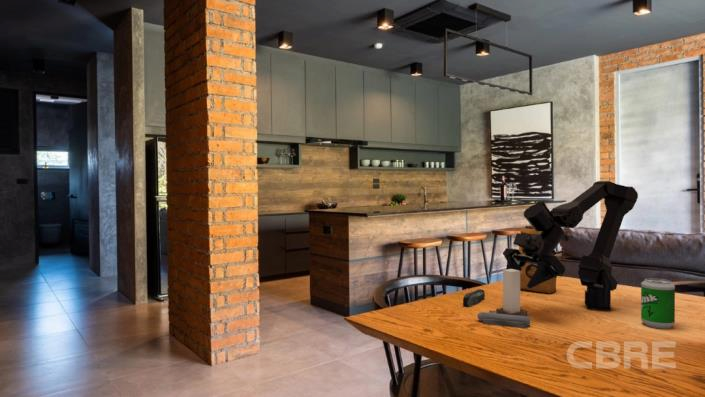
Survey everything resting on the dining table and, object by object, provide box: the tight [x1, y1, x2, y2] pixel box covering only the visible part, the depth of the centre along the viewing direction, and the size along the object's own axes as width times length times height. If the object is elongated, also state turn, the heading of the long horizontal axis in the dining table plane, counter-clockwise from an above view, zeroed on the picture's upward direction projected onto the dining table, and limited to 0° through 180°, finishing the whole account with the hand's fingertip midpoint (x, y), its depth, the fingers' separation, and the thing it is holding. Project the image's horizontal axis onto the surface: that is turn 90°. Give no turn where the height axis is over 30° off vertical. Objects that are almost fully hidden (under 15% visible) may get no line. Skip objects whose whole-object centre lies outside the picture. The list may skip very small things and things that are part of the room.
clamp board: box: [482, 307, 531, 329], centre depth 128 cm, size 11×14×4 cm
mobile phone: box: [462, 288, 486, 308], centre depth 145 cm, size 5×3×15 cm
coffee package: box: [518, 228, 557, 294], centre depth 166 cm, size 10×12×22 cm
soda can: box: [640, 277, 676, 330], centre depth 125 cm, size 8×8×12 cm
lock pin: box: [502, 269, 521, 313], centre depth 129 cm, size 3×3×13 cm
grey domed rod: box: [477, 311, 531, 327], centre depth 124 cm, size 13×2×2 cm, turn 66°
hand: (516, 284), depth 130 cm, fingers open, 9 cm apart
